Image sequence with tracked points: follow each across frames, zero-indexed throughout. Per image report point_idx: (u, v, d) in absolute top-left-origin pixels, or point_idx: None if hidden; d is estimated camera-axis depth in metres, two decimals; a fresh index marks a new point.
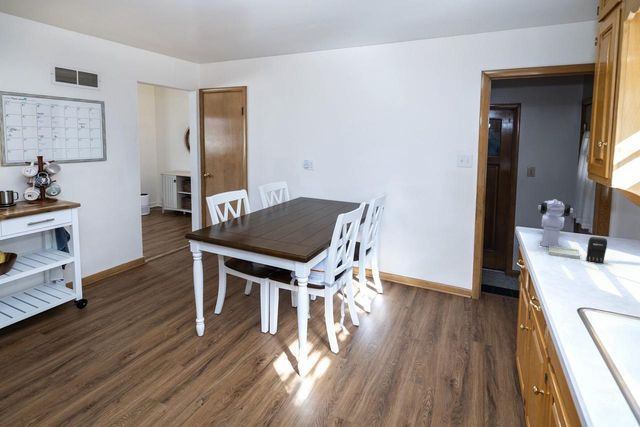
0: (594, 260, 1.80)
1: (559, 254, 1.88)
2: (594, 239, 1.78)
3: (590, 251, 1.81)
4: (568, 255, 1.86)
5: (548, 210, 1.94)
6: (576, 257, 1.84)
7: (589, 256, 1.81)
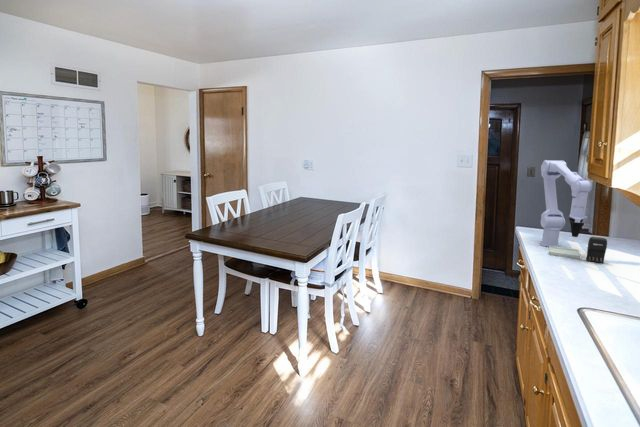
0: (594, 260, 1.80)
1: (559, 254, 1.88)
2: (594, 239, 1.78)
3: (590, 251, 1.81)
4: (568, 255, 1.86)
5: (574, 219, 1.83)
6: (576, 257, 1.84)
7: (589, 256, 1.81)
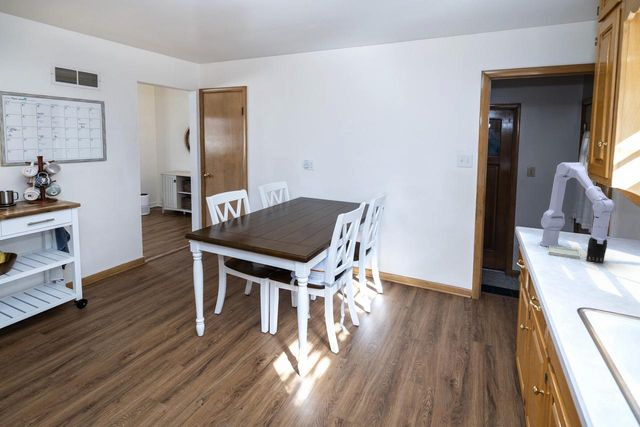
0: (594, 260, 1.80)
1: (559, 254, 1.88)
2: (594, 239, 1.78)
3: (590, 251, 1.81)
4: (568, 255, 1.86)
5: (596, 239, 1.76)
6: (576, 257, 1.84)
7: (589, 256, 1.81)
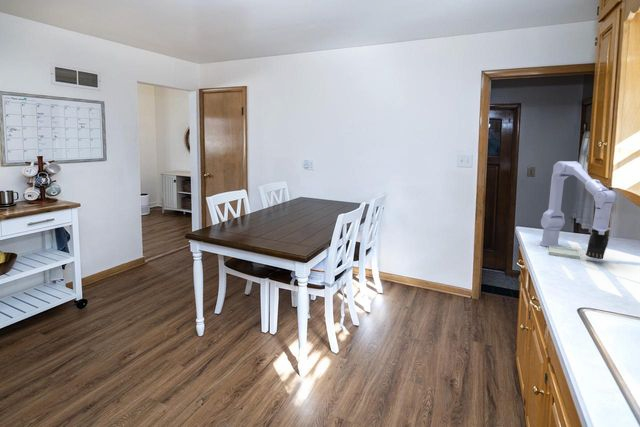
0: (594, 256, 1.79)
1: (559, 254, 1.88)
2: None
3: (590, 247, 1.80)
4: (568, 255, 1.86)
5: (597, 230, 1.76)
6: (576, 257, 1.84)
7: (589, 252, 1.81)
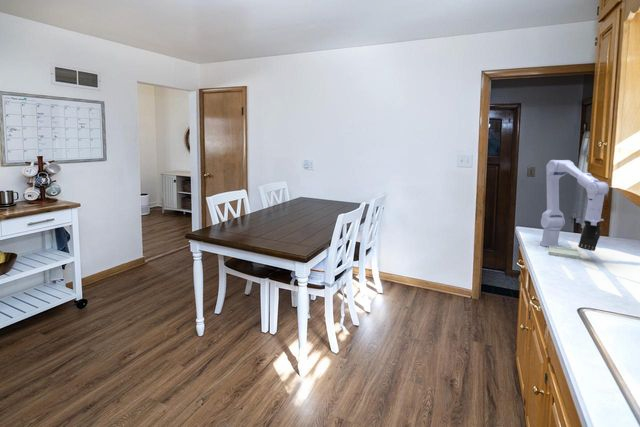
0: (586, 248, 1.82)
1: (559, 254, 1.88)
2: None
3: (583, 238, 1.83)
4: (568, 255, 1.86)
5: (590, 221, 1.78)
6: (576, 257, 1.84)
7: (581, 243, 1.83)
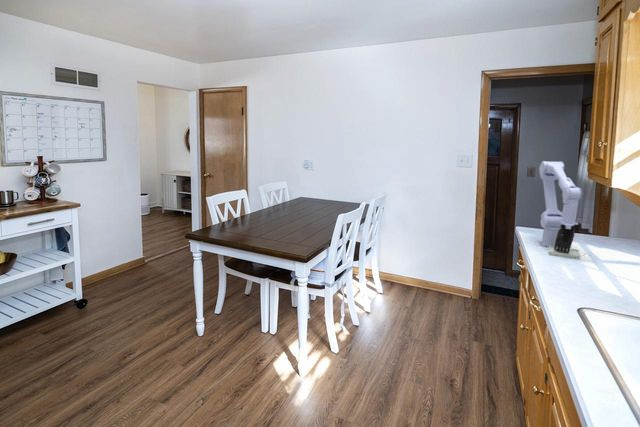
0: (560, 250, 1.92)
1: (559, 254, 1.88)
2: None
3: (558, 241, 1.92)
4: (568, 255, 1.86)
5: (565, 225, 1.87)
6: (576, 257, 1.84)
7: (556, 246, 1.93)
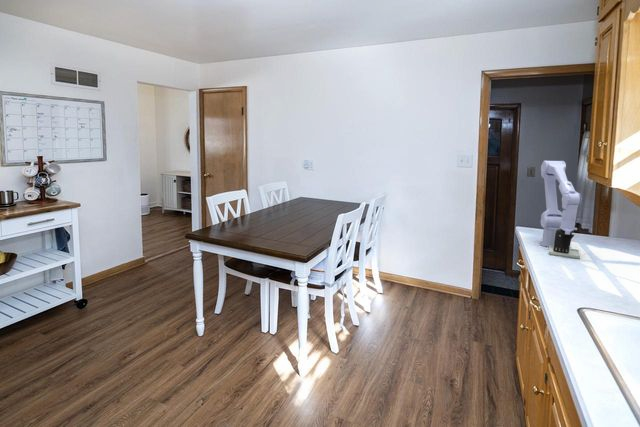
0: (560, 251, 1.92)
1: (559, 254, 1.88)
2: (560, 231, 1.90)
3: (556, 242, 1.93)
4: (568, 255, 1.86)
5: (564, 230, 1.88)
6: (576, 257, 1.84)
7: (556, 247, 1.93)
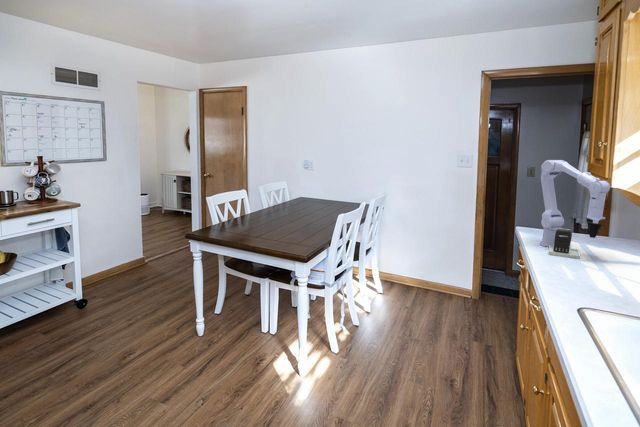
0: (560, 251, 1.92)
1: (559, 254, 1.88)
2: (560, 231, 1.90)
3: (556, 242, 1.93)
4: (568, 255, 1.86)
5: (592, 219, 1.82)
6: (576, 257, 1.84)
7: (556, 247, 1.93)
